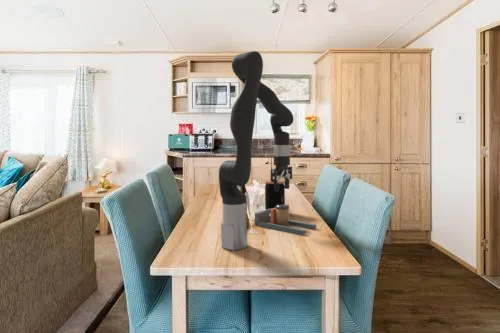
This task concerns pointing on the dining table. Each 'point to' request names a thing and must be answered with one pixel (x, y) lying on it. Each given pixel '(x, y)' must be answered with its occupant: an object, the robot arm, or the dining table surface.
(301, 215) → the dining table surface
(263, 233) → the dining table surface
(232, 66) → the robot arm
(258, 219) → the lane
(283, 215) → the spice jar
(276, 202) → the coffee jar
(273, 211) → the plate
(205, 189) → the dining table surface
